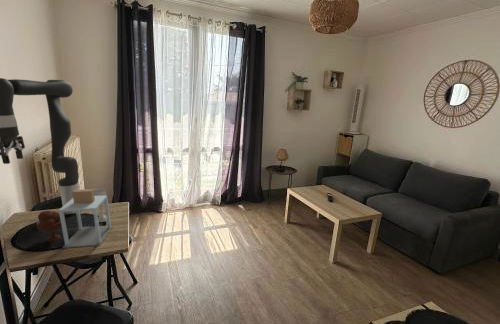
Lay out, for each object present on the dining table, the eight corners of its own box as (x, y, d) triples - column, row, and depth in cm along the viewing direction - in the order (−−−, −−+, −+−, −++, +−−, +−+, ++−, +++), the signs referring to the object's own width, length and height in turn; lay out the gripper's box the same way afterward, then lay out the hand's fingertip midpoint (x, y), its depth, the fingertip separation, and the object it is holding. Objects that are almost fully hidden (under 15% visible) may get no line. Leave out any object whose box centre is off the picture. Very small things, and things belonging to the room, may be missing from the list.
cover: (80, 228, 131) (72, 185, 125) (111, 226, 134) (105, 184, 128) (65, 245, 117) (56, 197, 111) (100, 242, 120) (93, 196, 114)
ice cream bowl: (53, 246, 117) (47, 217, 113) (33, 243, 119) (27, 214, 115) (73, 234, 127) (68, 207, 123) (54, 231, 129) (49, 204, 125)
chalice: (92, 221, 140) (87, 191, 135) (102, 216, 146) (98, 187, 141) (102, 223, 138) (98, 193, 133) (112, 218, 144) (109, 188, 139)
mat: (80, 228, 133) (80, 227, 133) (113, 226, 136) (113, 225, 136) (62, 248, 116) (62, 247, 116) (100, 245, 119) (100, 244, 118)
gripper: (7, 123, 117) (15, 157, 121) (-18, 127, 103) (-9, 165, 108) (26, 123, 118) (32, 157, 123) (3, 127, 105) (12, 165, 109)
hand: (13, 161), depth 115 cm, fingers open, 8 cm apart
